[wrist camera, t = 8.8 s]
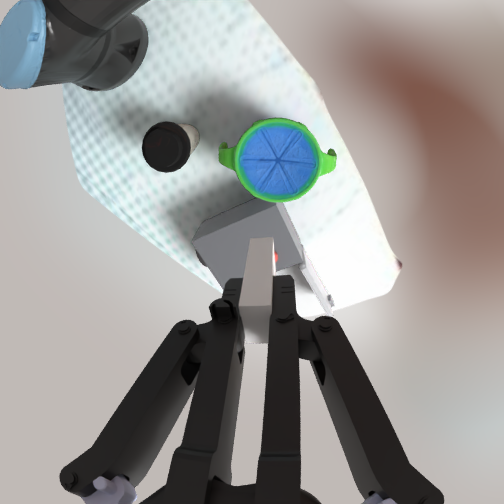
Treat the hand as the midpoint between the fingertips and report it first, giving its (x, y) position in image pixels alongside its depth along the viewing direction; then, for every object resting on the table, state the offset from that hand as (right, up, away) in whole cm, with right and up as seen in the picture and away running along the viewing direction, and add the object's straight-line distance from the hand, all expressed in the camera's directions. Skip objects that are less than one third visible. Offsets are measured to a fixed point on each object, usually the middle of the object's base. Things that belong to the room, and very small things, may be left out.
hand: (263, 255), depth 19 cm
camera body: (-1, +4, +29) cm, 29 cm away
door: (+11, -3, +31) cm, 33 cm away
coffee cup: (-11, +18, +21) cm, 30 cm away
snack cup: (+3, +16, +21) cm, 27 cm away
